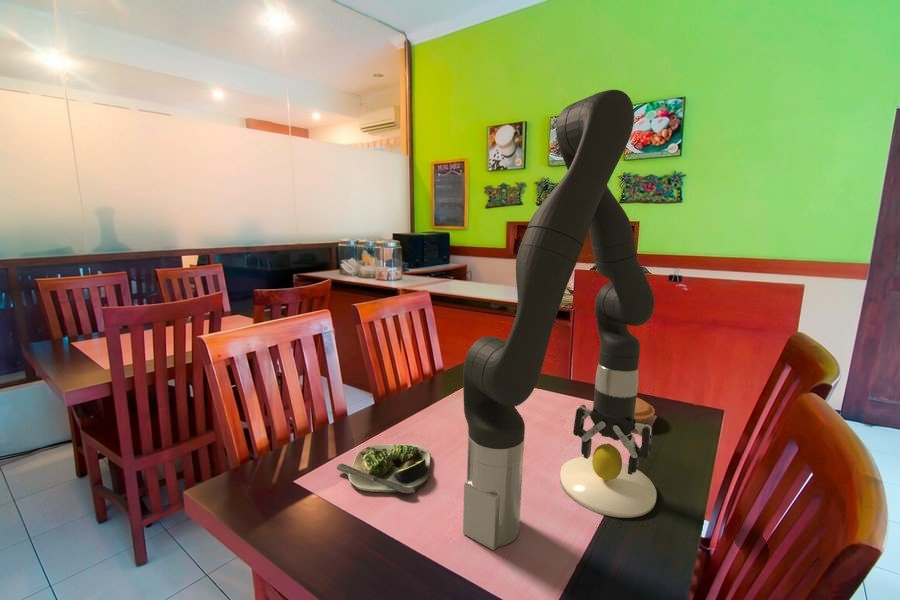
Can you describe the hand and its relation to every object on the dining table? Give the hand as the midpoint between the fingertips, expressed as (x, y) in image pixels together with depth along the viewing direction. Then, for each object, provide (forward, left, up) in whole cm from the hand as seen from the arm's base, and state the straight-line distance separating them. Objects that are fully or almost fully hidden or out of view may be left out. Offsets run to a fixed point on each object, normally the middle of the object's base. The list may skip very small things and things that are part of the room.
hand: (608, 464), depth 82 cm
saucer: (0, 0, -5) cm, 5 cm away
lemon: (0, 0, -4) cm, 4 cm away
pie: (+34, +6, -5) cm, 35 cm away
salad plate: (-23, +37, -5) cm, 44 cm away
